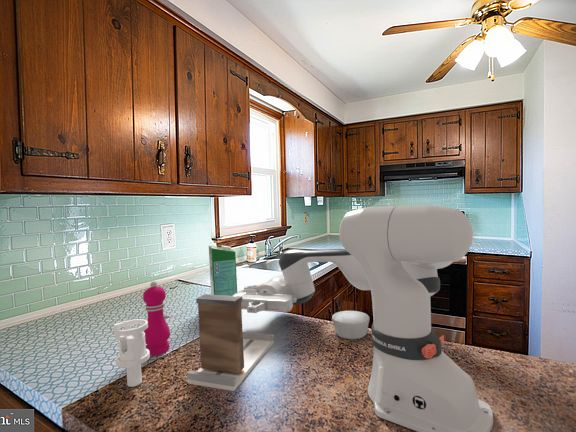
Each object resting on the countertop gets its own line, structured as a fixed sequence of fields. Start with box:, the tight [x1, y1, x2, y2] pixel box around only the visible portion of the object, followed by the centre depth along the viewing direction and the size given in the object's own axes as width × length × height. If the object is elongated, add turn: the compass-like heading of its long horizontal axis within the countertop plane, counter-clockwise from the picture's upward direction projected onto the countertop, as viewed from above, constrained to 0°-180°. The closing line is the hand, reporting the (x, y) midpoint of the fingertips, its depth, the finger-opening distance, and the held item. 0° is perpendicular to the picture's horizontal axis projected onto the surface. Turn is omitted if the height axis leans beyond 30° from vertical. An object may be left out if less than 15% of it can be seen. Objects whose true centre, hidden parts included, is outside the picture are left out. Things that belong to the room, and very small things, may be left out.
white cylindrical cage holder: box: [113, 318, 151, 388], centre depth 72 cm, size 7×7×15 cm
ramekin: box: [331, 310, 370, 340], centre depth 95 cm, size 11×11×5 cm
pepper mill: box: [142, 281, 171, 356], centre depth 88 cm, size 7×7×20 cm
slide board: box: [186, 331, 274, 392], centre depth 81 cm, size 24×12×2 cm, turn 162°
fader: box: [195, 293, 244, 374], centre depth 74 cm, size 4×10×17 cm, turn 72°
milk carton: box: [208, 245, 238, 296], centre depth 124 cm, size 9×9×25 cm
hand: (251, 310), depth 91 cm, fingers closed
